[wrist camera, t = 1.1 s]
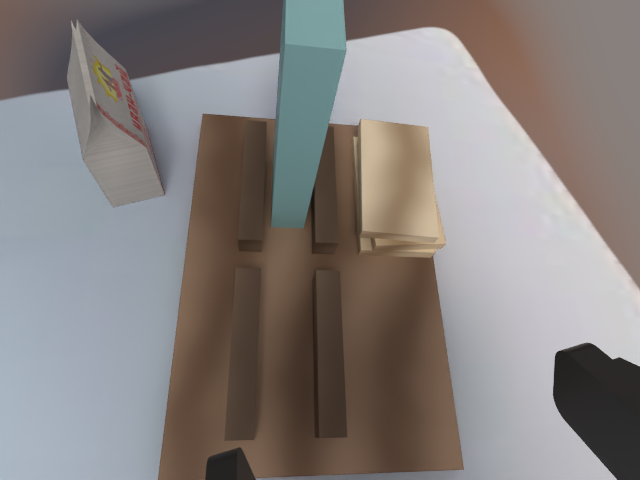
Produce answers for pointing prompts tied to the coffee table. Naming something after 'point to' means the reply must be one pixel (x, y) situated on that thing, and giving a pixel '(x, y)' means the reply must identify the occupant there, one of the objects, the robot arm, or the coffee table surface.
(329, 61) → the teal panel
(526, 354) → the coffee table surface
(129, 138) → the tea bag
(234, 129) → the walnut rack
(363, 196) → the pine offcuts
